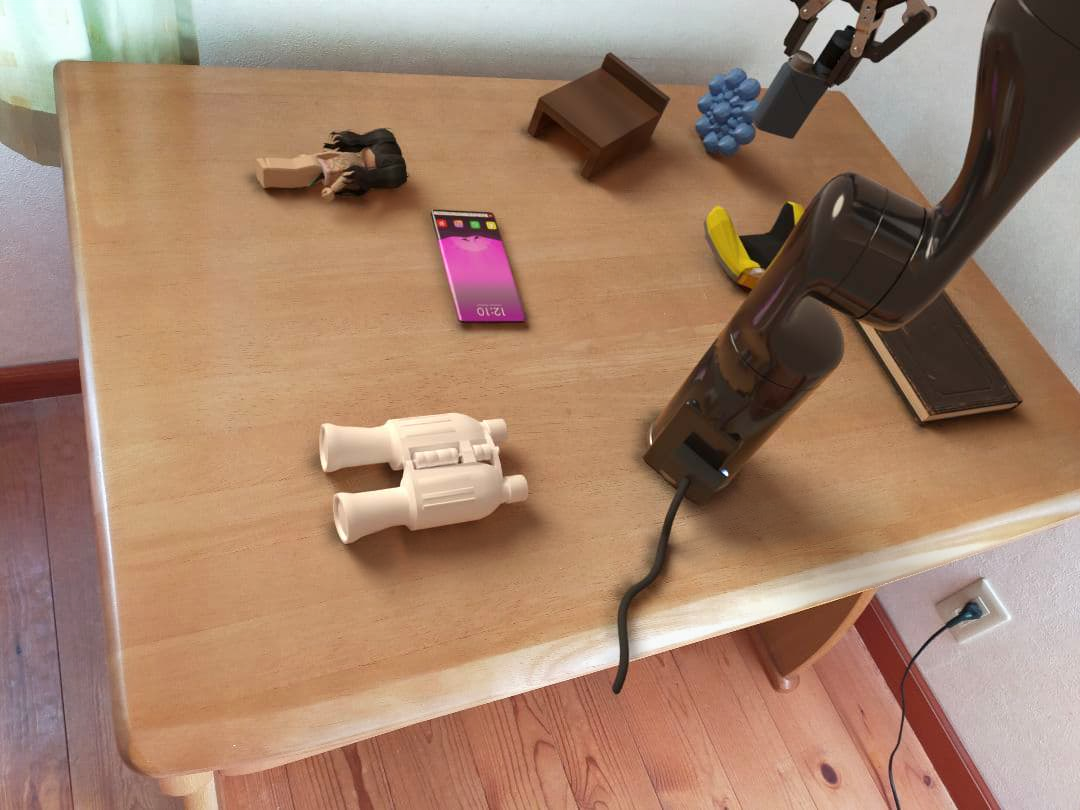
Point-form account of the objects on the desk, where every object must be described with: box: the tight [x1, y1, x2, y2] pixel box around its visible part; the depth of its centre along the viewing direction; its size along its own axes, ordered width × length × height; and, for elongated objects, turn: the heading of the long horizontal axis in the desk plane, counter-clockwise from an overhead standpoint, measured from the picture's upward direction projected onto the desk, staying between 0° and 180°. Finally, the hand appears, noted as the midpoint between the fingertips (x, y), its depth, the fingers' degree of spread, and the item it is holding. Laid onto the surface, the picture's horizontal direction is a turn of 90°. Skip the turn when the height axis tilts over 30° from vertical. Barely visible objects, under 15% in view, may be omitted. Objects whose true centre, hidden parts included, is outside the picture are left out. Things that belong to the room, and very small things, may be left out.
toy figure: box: [255, 127, 410, 202], centre depth 90 cm, size 7×6×15 cm
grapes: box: [694, 67, 762, 158], centre depth 114 cm, size 12×7×12 cm, turn 20°
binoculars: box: [318, 412, 529, 545], centre depth 73 cm, size 10×16×5 cm, turn 109°
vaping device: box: [752, 24, 856, 140], centre depth 86 cm, size 3×5×12 cm, turn 89°
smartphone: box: [430, 209, 527, 324], centre depth 91 cm, size 7×15×1 cm, turn 16°
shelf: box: [526, 51, 671, 181], centre depth 109 cm, size 14×10×7 cm
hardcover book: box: [850, 289, 1024, 426], centre depth 108 cm, size 16×23×2 cm
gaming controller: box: [703, 201, 805, 290], centre depth 105 cm, size 15×6×10 cm
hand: (810, 67), depth 85 cm, fingers closed on vaping device, 4 cm apart
